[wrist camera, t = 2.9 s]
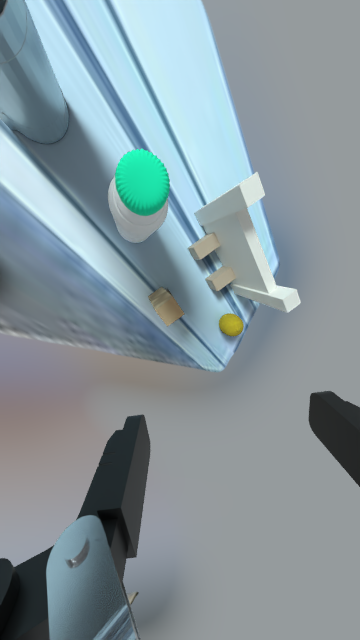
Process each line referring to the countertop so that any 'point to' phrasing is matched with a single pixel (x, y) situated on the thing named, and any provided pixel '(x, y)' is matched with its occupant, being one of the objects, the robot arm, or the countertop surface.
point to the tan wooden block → (166, 306)
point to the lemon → (231, 324)
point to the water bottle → (139, 195)
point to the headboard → (240, 248)
